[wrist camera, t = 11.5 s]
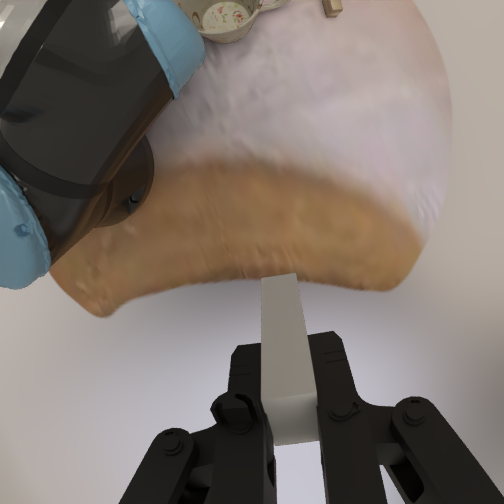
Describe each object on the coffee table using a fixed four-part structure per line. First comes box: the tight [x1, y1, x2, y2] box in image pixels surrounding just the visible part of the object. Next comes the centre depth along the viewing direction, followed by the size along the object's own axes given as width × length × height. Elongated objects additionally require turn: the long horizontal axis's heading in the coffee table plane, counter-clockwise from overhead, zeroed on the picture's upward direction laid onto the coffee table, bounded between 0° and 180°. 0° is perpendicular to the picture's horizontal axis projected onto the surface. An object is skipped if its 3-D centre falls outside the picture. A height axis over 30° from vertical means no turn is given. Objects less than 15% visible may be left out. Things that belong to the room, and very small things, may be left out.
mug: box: [173, 0, 290, 43], centre depth 25 cm, size 8×13×10 cm, turn 110°
